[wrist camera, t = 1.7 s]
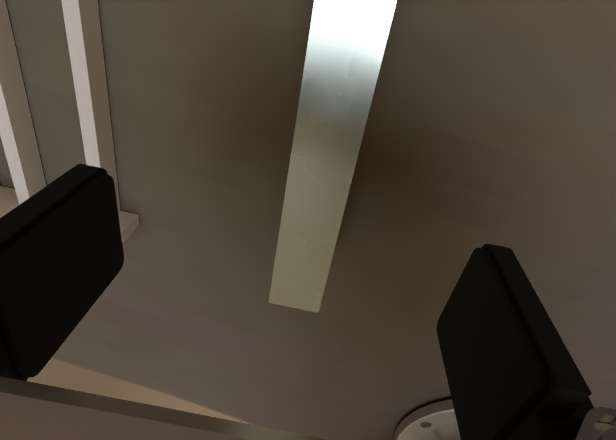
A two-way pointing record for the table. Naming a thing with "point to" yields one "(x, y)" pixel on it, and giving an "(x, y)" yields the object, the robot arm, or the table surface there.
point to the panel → (327, 142)
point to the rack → (90, 100)
